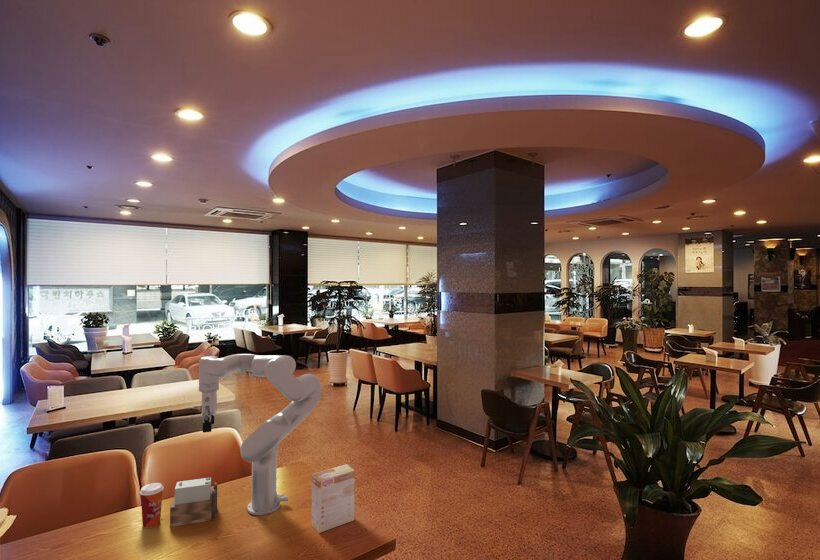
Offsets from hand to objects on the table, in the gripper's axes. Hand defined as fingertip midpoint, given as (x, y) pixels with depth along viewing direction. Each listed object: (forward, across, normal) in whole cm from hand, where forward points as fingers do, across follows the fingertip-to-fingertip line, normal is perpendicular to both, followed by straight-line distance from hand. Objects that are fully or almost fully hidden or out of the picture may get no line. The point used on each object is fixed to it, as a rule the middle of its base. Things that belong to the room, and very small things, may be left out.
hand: (208, 427), depth 180 cm
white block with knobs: (+23, -11, +4) cm, 26 cm away
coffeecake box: (+31, -31, -47) cm, 64 cm away
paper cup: (+31, -12, +18) cm, 37 cm away
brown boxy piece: (+30, -11, +4) cm, 32 cm away
